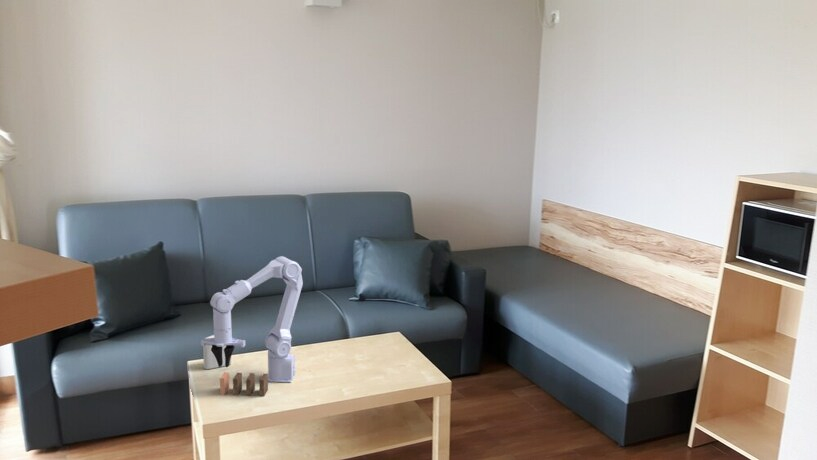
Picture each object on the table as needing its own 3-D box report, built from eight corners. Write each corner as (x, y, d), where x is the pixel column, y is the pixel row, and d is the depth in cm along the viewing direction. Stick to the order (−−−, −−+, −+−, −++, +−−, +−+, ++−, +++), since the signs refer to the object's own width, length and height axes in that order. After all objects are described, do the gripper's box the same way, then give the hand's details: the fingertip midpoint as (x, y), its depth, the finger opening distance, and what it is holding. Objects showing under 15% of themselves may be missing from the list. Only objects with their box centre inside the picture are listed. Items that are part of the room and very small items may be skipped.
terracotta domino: (229, 388, 215) (228, 372, 213) (224, 394, 210) (224, 378, 209) (225, 388, 215) (224, 372, 214) (220, 394, 210) (219, 378, 209)
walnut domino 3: (267, 389, 214) (267, 373, 213) (264, 396, 209) (263, 380, 208) (263, 389, 214) (263, 373, 213) (259, 396, 209) (259, 379, 208)
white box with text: (229, 361, 237) (228, 330, 235) (233, 365, 234) (232, 334, 231) (202, 366, 232) (201, 335, 229) (205, 370, 228) (204, 339, 226)
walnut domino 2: (255, 389, 214) (254, 373, 213) (250, 395, 209) (250, 379, 208) (250, 389, 214) (250, 373, 213) (246, 395, 210) (246, 379, 208)
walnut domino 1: (242, 388, 215) (241, 372, 213) (237, 395, 210) (237, 379, 208) (237, 388, 215) (237, 372, 213) (233, 395, 210) (232, 378, 208)
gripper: (196, 331, 204) (198, 369, 207) (240, 332, 204) (241, 371, 206) (204, 324, 211) (206, 361, 214) (246, 325, 210) (247, 362, 213)
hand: (224, 365), depth 210 cm, fingers closed
